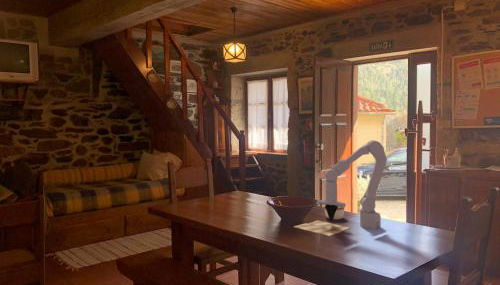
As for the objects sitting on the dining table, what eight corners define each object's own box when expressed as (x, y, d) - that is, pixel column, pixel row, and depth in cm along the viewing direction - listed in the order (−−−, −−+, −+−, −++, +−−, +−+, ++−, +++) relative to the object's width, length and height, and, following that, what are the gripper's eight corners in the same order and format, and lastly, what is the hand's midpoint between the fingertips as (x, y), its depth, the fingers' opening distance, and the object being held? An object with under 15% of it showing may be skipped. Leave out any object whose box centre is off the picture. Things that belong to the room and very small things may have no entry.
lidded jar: (321, 220, 212) (321, 203, 212) (327, 216, 222) (327, 200, 221) (341, 223, 207) (341, 205, 207) (346, 218, 217) (346, 201, 216)
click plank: (350, 229, 193) (350, 227, 193) (340, 233, 188) (340, 231, 188) (317, 222, 208) (317, 220, 208) (307, 225, 202) (307, 223, 202)
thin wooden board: (342, 234, 187) (342, 231, 187) (329, 238, 180) (329, 235, 180) (306, 225, 203) (306, 223, 203) (293, 229, 196) (293, 226, 196)
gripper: (348, 193, 197) (348, 220, 197) (322, 190, 206) (322, 216, 207) (341, 195, 191) (341, 223, 192) (315, 192, 201) (315, 218, 201)
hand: (331, 219), depth 199 cm, fingers closed
